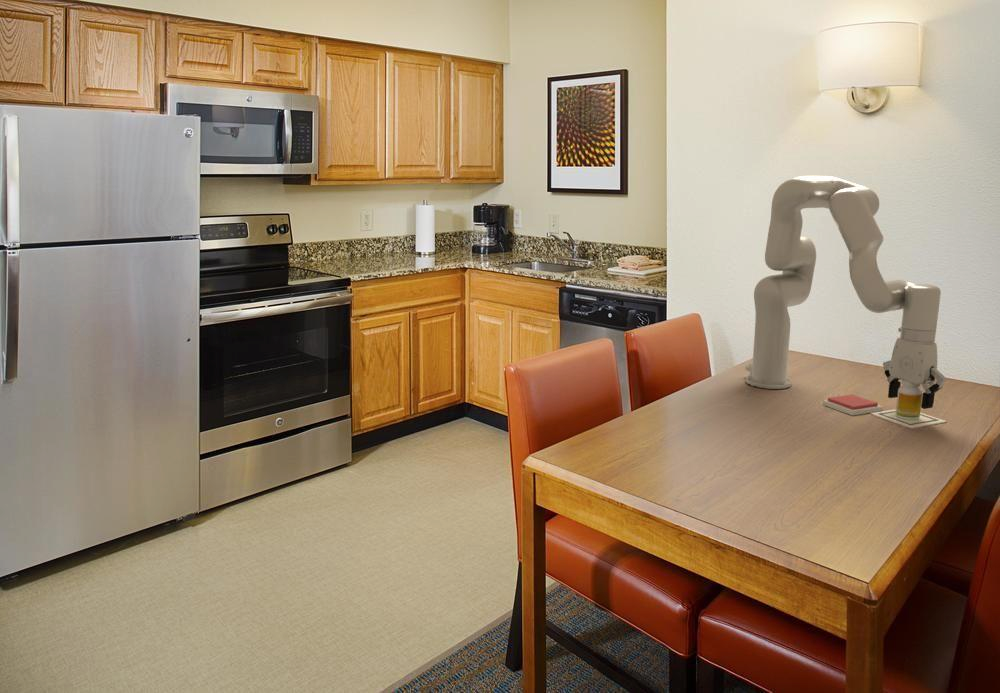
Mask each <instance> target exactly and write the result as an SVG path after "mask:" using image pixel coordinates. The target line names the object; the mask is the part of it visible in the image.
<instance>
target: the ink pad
mask: <svg viewBox="0 0 1000 693" xmlns="http://www.w3.org/2000/svg"><path fill="white" fill-rule="evenodd" d="M822 406H825V407H828V408H830V409H833V410H837V411H838V412H842V413H845V414H847V415H849V416H858V415H864V414H871V413H875V412H881V411H883V406H882V405H879V403H878V402H876V401H874V400H869V399H868V398H867V399H866V398H863V397H860V396H857V395H855V394H847V395H840V396H839V395H838V396H833V397H832V396H831V397H827V399H825V400H822Z"/></svg>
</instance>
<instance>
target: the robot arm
mask: <svg viewBox="0 0 1000 693" xmlns="http://www.w3.org/2000/svg"><path fill="white" fill-rule="evenodd" d="M817 208H818V209H820V208H821V209H822V208H824V209H828V210H829V212H830V214H831V217H832V219H833V221H834V222H835V225H836V227H837V229H838V231H839V233H840V235H841V237H842V239H843V242H844V243H845V245H846V248H847V250H848V253H849V254H848V255H849V259H848V266H849V269H848V270H849V277H850V278H849V279H850V282H851V284H852V286H853V288H854V291H855V293H856V295H857V296H858V299H859V300H860V302H861V304H862V305H863V307H865V308H866V309H867V310H868V311H870V312H872V313H875V314H882V313H883V314H884V313H888V312H893V311H900V310H903V311H902V318H901V326H899V327H898V329H897V332H899V333H900V334H899V335H900V336H899V337H898V338H896V341H895V343H894V346H893V349H892V354H891V359H890V360H887V361H883V363H882V365H883V366H882V367H883V370H884V375H885V376H886V378H887V379H886V380H887V382H888V393H887V398H889V399H895V398H897V396H898V389H899V387H901V386H902V385H901V384H902V382H901V381H902V380H904V381H908V382H911V383H915V384H920V385H921V386H922V387H923V390H924V392H922V401H921V409H923V410H927V409H931V408H933V406H934V402H935V394H936V393H938V391H939V390H941V389H942V388H943V386H944V384H946V382H947V377H946V376H945V375H944V374H943V373H942V372H940V371H939V369H938V347H937V346H938V345H937V343H936V342H935V341H936V333H937V328H938V327H937V326H938V319H939V310H940V302H941V301H940V300H941V289H940V288H939V287H938V286H937V285H932V284H926V283H925V284H924V283H914V282H909V281H906V280H901V279H893V280H884V278H883V275H882V273H881V272H880V269H879V266H878V262H877V257H878V256H877V255H878V251H879V249H880V247H881V245H882V244H883V242H884V236H883V233H882V231H881V230H880V227H879V225H878V223H877V222H876V219H875V217H874V216H875V215H877V212H878V211H879V209H880V199H879V197H878V195H877V193H876V192H875V191H874V190H873V189H871V188H869V187H867V186H864V185H859V184H857V183H854V182H850V181H848V180H845V179H841V178H839V177H835V176H830V175H802V176H801V175H800V176H795V177H792V178H790V179H787V180H785V181H784V182H783V183H781V184H780V185H779V186H778V187H777V189H776V190H775V192H774V194H773V196H772V201H771V208H770V210H771V211H770V221H769V226H768V232H767V240H766V243H765V244H766V245H765V252H764V262H765V265H766V267H767V268H769V269H770V270H773V271H774V272H776V271H777V272H782V273H781V274H774V275H768V276H765V277H763V278H762V279H760V280H759V281H758V282H757V283H756V286H755V287H754V290H753V300H754V310H755V320H754V321H755V323H754V337H753V352H752V362H751V363H749V365H746V366H745V368H744V369H745V371H748V372H749V375H748V376H746V377H745V382H746V383H747V385H749V384H750V385H749V386H752V387H755V386H756V387H755V388H761V389H769V390H771V389H772V390H780V389H781V390H782V389H788V388H790V387H791V386H792V385H793V384H792V380H791V379H790V378H787V373H788V372H787V371H788V361H789V347H790V335H791V318H790V313H789V310H788V308H789V307H790V308H791V307H795V306H799V305H801V304H803V303H804V302H806V301H807V299H808V298H809V296H810V293H811V291H812V285H813V284H812V283H813V280H814V272H815V267H816V262H817V249H816V246H815V244H814V242H813V241H812V240H811V239H810V238H809V237H807V236H805V235H802V229H803V215H802V212H801V211H802V210H803V209H817ZM900 380H901V381H900Z"/></svg>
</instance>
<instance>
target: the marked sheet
mask: <svg viewBox="0 0 1000 693" xmlns="http://www.w3.org/2000/svg"><path fill="white" fill-rule="evenodd" d="M870 415H871V416H874V417H876V418H880V419H883V420H886V421H888V422H891V423H895V424H897V425H899V426H903V427H905V428H908V429H917V428H923V427H927V426H928V427H929V426H933V425H939V424H944V423H945V424H946V423H947V422H948V421H947V420H944V419H941V418H938V417H935V416H932V415H929V414H925V413H923V412H920V417H919V419H916V420H907V419H902V418H899V417H897V416H896V408H894V409H889V410H882V411H878V412H872V413H870Z"/></svg>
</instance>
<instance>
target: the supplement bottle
mask: <svg viewBox="0 0 1000 693" xmlns="http://www.w3.org/2000/svg"><path fill="white" fill-rule="evenodd" d="M901 384H902V385H900V387H899V389H898V396H897V397H896V405H895V406H896V408H895V409H896V416H897V417H899V418H902V419H907V420H916V419H919V417H920V413H921V409H922V408H921V404H922V396H923V389H921V388H920V386H921V384H915V383H911V382H908V381H904V380H901Z"/></svg>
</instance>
